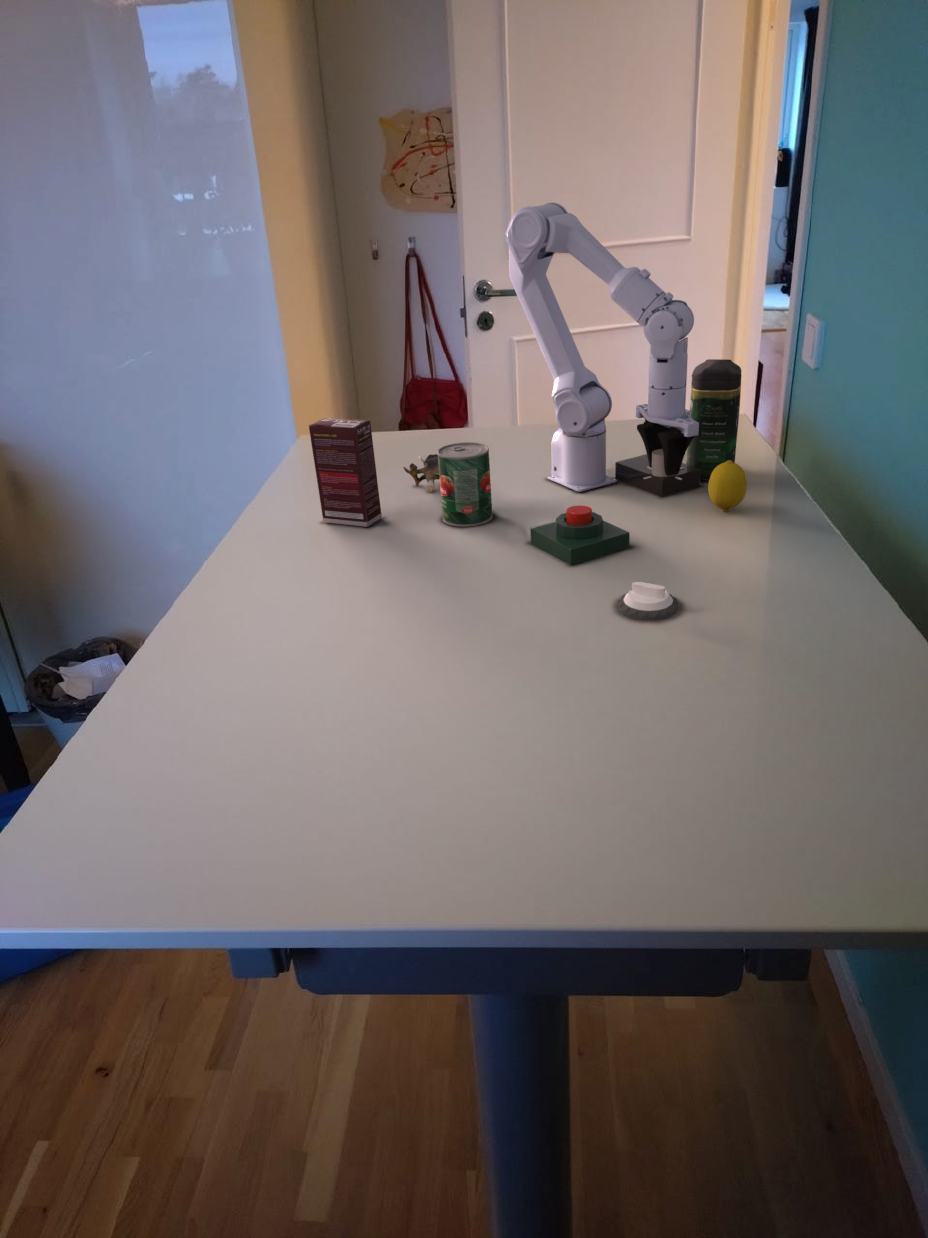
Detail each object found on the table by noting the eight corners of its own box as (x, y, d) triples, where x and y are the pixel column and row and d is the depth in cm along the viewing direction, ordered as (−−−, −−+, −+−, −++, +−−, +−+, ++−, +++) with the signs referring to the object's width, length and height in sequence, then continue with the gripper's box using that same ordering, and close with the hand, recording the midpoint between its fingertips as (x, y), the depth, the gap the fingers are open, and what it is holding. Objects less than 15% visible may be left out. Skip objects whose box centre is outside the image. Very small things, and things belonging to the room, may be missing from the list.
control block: (530, 543, 130) (529, 517, 128) (586, 527, 134) (586, 501, 132) (571, 565, 122) (570, 537, 120) (629, 547, 126) (629, 520, 124)
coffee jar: (733, 482, 147) (742, 367, 138) (684, 481, 149) (689, 368, 141) (735, 464, 155) (743, 355, 147) (688, 463, 157) (694, 355, 149)
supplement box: (383, 517, 143) (372, 419, 136) (368, 528, 140) (355, 427, 132) (337, 512, 147) (324, 416, 140) (321, 522, 143) (306, 424, 136)
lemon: (746, 518, 133) (750, 466, 129) (707, 517, 134) (710, 466, 130) (743, 505, 137) (747, 454, 134) (706, 505, 139) (709, 454, 135)
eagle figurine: (403, 490, 151) (453, 482, 148) (401, 449, 152) (451, 440, 149) (421, 500, 158) (469, 493, 155) (419, 461, 159) (467, 453, 156)
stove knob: (665, 625, 105) (666, 603, 103) (607, 613, 108) (607, 592, 107) (687, 600, 110) (688, 578, 109) (631, 590, 114) (631, 569, 112)
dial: (659, 478, 142) (660, 455, 140) (646, 471, 145) (647, 449, 144) (681, 474, 143) (682, 451, 141) (668, 467, 146) (669, 445, 145)
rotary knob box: (605, 481, 152) (605, 463, 150) (651, 469, 156) (652, 451, 154) (660, 503, 141) (661, 484, 139) (709, 489, 145) (710, 470, 143)
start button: (561, 520, 127) (561, 509, 126) (581, 515, 128) (581, 503, 127) (576, 528, 124) (576, 516, 123) (597, 522, 125) (597, 510, 125)
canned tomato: (502, 518, 139) (499, 449, 134) (458, 530, 136) (453, 460, 131) (475, 505, 145) (471, 439, 141) (433, 516, 142) (427, 449, 137)
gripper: (717, 390, 133) (712, 478, 139) (663, 373, 145) (660, 455, 151) (677, 397, 131) (673, 486, 137) (625, 379, 143) (624, 462, 149)
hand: (664, 470), depth 144 cm, fingers closed on dial, 4 cm apart
